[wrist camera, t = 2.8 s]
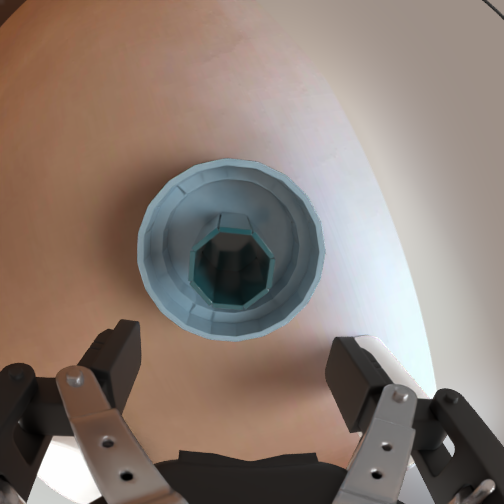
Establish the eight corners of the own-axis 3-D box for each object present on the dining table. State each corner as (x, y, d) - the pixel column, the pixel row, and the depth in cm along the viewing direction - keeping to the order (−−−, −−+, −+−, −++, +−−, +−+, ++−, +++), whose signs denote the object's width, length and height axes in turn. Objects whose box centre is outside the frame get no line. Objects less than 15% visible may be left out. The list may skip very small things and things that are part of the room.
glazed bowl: (317, 173, 30) (337, 173, 25) (294, 318, 34) (306, 345, 28) (159, 156, 29) (143, 152, 23) (151, 305, 33) (138, 331, 27)
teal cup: (264, 215, 31) (279, 232, 22) (257, 275, 32) (267, 312, 23) (202, 209, 30) (192, 223, 21) (197, 269, 31) (186, 305, 23)
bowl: (87, 483, 42) (78, 512, 33) (19, 406, 36) (-1, 435, 28) (181, 481, 41) (178, 518, 33) (112, 396, 36) (95, 438, 28)
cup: (318, 360, 36) (361, 455, 21) (372, 323, 35) (441, 401, 20) (344, 395, 38) (386, 480, 23) (393, 362, 37) (451, 436, 22)
